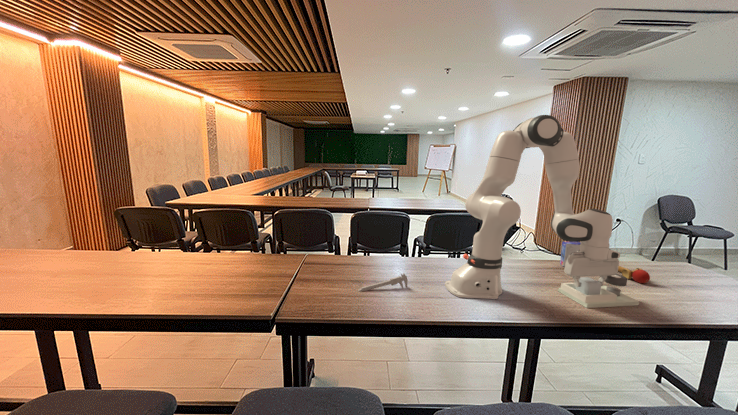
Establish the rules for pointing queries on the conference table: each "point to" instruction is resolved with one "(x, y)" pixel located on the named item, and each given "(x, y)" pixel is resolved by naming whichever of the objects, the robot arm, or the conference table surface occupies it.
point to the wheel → (616, 280)
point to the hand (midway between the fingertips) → (588, 286)
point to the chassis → (598, 297)
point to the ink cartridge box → (568, 250)
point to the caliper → (387, 283)
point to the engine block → (589, 286)
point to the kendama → (635, 274)
